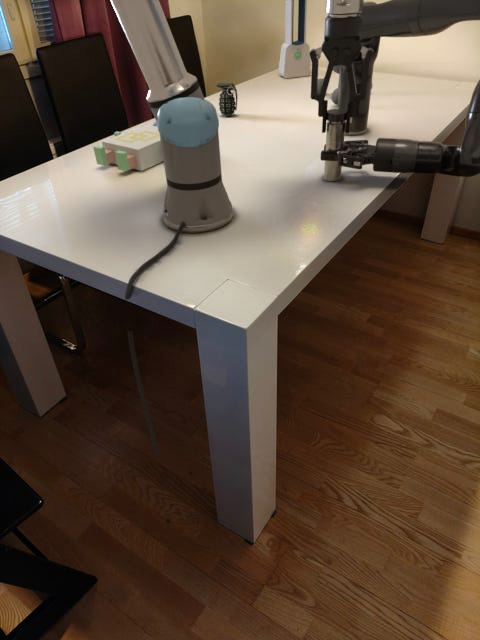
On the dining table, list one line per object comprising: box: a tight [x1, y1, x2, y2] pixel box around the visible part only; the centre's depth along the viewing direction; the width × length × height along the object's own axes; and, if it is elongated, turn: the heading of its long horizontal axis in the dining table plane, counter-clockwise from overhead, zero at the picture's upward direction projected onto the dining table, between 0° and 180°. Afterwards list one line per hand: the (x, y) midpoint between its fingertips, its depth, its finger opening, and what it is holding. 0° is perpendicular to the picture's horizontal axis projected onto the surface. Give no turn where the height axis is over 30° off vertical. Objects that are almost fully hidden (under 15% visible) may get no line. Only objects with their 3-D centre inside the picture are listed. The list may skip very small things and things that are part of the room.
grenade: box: [215, 82, 238, 117], centre depth 166 cm, size 7×6×10 cm
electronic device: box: [278, 0, 312, 79], centre depth 204 cm, size 12×8×30 cm, turn 105°
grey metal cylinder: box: [323, 121, 345, 182], centre depth 117 cm, size 4×4×15 cm
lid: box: [326, 108, 347, 122], centre depth 112 cm, size 5×5×2 cm
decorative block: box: [92, 121, 164, 172], centre depth 138 cm, size 26×6×20 cm
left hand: (335, 130), depth 114 cm, fingers closed on lid, 5 cm apart
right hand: (322, 151), depth 118 cm, fingers closed on grey metal cylinder, 4 cm apart
